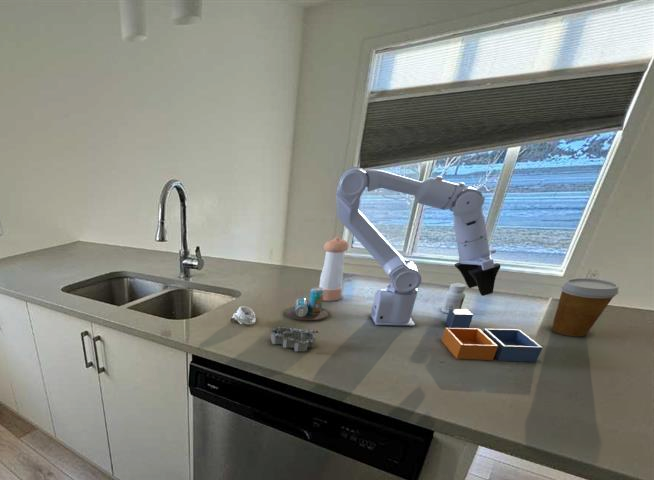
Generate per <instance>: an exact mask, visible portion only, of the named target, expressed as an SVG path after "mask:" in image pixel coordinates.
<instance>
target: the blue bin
mask: <svg viewBox="0 0 654 480" xmlns="http://www.w3.org/2000/svg"><path fill="white" fill-rule="evenodd" d="M482 332H483V333H485V334H486V335H487V336H488V337H489V338H490V339H491V340H492V341H493V342H494V343H495V344H497V345H498V348H497V351H496V353H495V356H494V358H495V359H496V360H497V361H506V362H507V361H509V362H531V363H532V362H533V363H536V362H537V361H538V359H539V357H540V354H541V352H542V350H543V346H541V345H540V344H539V343H538V342H536V341H535V340H534V339H533V338H531V337H530V336H529V335H527V334H526V333H525V332H523V331H522V330H521V329H519V328H518V329H517V328H515V329H514V328H483V330H482Z"/></svg>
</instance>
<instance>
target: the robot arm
mask: <svg viewBox="0 0 654 480" xmlns="http://www.w3.org/2000/svg"><path fill="white" fill-rule="evenodd" d="M366 189H367V192H373V191H375V190H378V189H384V190H389V191H392V192H398V193H402V194H406V195H411V196H414V199H415V202H416V203H417V204H419V205H423V206H427V207H430V208H431V207H432V208H435V209H439V210H442V211H445V210H449V211H450V212H452V218H453V230H454V234H455V240H456V241H455V242H456V245H457V252H458V253H457V254H458V262H456V263H455V264H454V267H455V268H456V269H457V270H458V271H459V272H460V274H461V276H462V277H463V279H464V282H465V285H466V287H468V288H469V289H472V288H475V287H477V289H478V291H479V294H480V295H481V296H483V297H484V296H488V295H491V294H493V293H494V289H495V283H496V278H497V275H498V273H499V271H500V269H501V264H500V263H494V259H493V258H492V255H493V254H496V253H497V249H495V248H490V245H489V238H488V233H487V226H486V218H485V215H484V213H483V212H484V210H483V205H484V204H485V198H486V197H485V196H484V195H483V193H482V192H481V191H480V190H479V189H477V188H475V187H473V186H470V185H469V184H468V185H466V183H464V182H458V183H455V182H450V181H447V180H444V176H443V177H442V176H440V175H436V176H435V177H427V178H426V179H424V180H421V181H420V180H417V179H413V178H410V177H406V176H404V175H403V176H402V175H400V174H396V173H393V172H389V171H385V170H383V169H374V168H365V169H364V168H362V167H359V166H353V167H352V166H351V167H350V168H348V169H346V170H345V171H344V172H343V173H342V175H341V176H340V179H339V181H338V184H337V189H336V192H335V196H336V213H337V219H338V221H339V222H341V224H342V225H343V226H344V227H345V228H346V229H347V231H349V233H350V234H351V235H352V236H353V237H354V238H355V239H356V240H357V241H358V243H360V244H361V246H362V247H363V248H364V249H365V250H366V251H367V252H368V253H369V254H370V256H372V258H373V259H374V260H375V261H376V262H377V263H378V264H379V265H380V266H381V267H382V269H383V270H384V272H385V273H386V275H387V276H388V277H389V278H390V280H391V282H390V283H389V284H388V285H386V288H382V289H377V290H376V292H375V295H374V299H373V304H372V307H371V308H372V309H371V313H370V317H371V319H372V321H373V322H374V324H375V325H376V326H402V327H403V326H406V327H407V326H408V327H415V322H414V321H413V319H412V318H411V317H412V314H413V311H414V307H415V303H416V299H417V295H418V291H419V287H420V285H421V283H422V275H421V273H420V272H419V269H418V266H417V264H416V263H415V262H413V261H411V260H409V259H406V258H404V256H403V255H402V254H400V253H399V251H397V250H396V248H395V247H393V246H392V244H391V243H389V241H388V240H387V239H386V238H385V237H384V236H383V235H382V234H381V233H380V231H379V230H378V229H377V228H376V227H375V226H374V225H373V224H372V223H371V222H370V220H369V219H368V218H367V217H366V216H365V214H363V212H362V211H360V210H359V208H360V204H361V203H360V202H361V198H362V196H363V194H364V192H365V191H366Z"/></svg>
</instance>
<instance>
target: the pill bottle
mask: <svg viewBox="0 0 654 480" xmlns="http://www.w3.org/2000/svg"><path fill="white" fill-rule="evenodd" d="M466 288H467V284H464V283H458V282H457V283H456V282H455V283H451V284H450V285H449V290H448V291H447V292H446V293H445V296H444V299H443V302H442V306H441V312H443V313H445V314H448V313H449V310H450V309H462V306H463V305H464V302H465V301H464V300H465V297H466V293H465V291H466Z"/></svg>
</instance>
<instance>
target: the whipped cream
mask: <svg viewBox="0 0 654 480" xmlns="http://www.w3.org/2000/svg"><path fill="white" fill-rule="evenodd" d="M233 321H237V322H238V323H239V324H240V325H243V324H245V325H247V326H251V325H254V324H255V323H256V314H255V312H254V310H253V309H252V308H250V307H248V306H245V305H243V306H239V307H238V309H237V310H236V312H234V313H233V315H232V317H231V319H230V322H233Z"/></svg>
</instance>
